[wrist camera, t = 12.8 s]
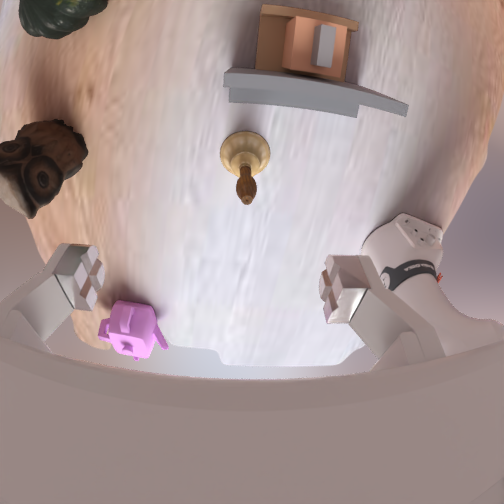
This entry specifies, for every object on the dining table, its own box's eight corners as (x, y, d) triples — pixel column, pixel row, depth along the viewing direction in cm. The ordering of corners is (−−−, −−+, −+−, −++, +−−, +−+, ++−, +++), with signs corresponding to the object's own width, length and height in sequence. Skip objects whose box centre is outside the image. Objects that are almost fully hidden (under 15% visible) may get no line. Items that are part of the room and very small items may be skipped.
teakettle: (130, 289, 65) (117, 328, 56) (176, 322, 75) (170, 360, 65) (100, 309, 72) (88, 344, 62) (142, 337, 81) (135, 371, 71)
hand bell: (229, 124, 40) (222, 159, 28) (277, 141, 43) (292, 184, 30) (213, 167, 45) (201, 219, 33) (258, 182, 48) (264, 237, 35)
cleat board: (366, 30, 29) (421, 28, 17) (352, 115, 39) (397, 147, 27) (236, 9, 28) (231, -17, 15) (229, 100, 38) (221, 124, 26)
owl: (38, 115, 35) (-34, 161, 19) (89, 108, 36) (15, 152, 21) (47, 172, 43) (-11, 232, 28) (95, 171, 44) (38, 237, 29)
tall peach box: (328, 30, 28) (356, 24, 19) (322, 73, 32) (348, 80, 24) (286, 23, 27) (301, 12, 19) (281, 66, 32) (294, 70, 23)
